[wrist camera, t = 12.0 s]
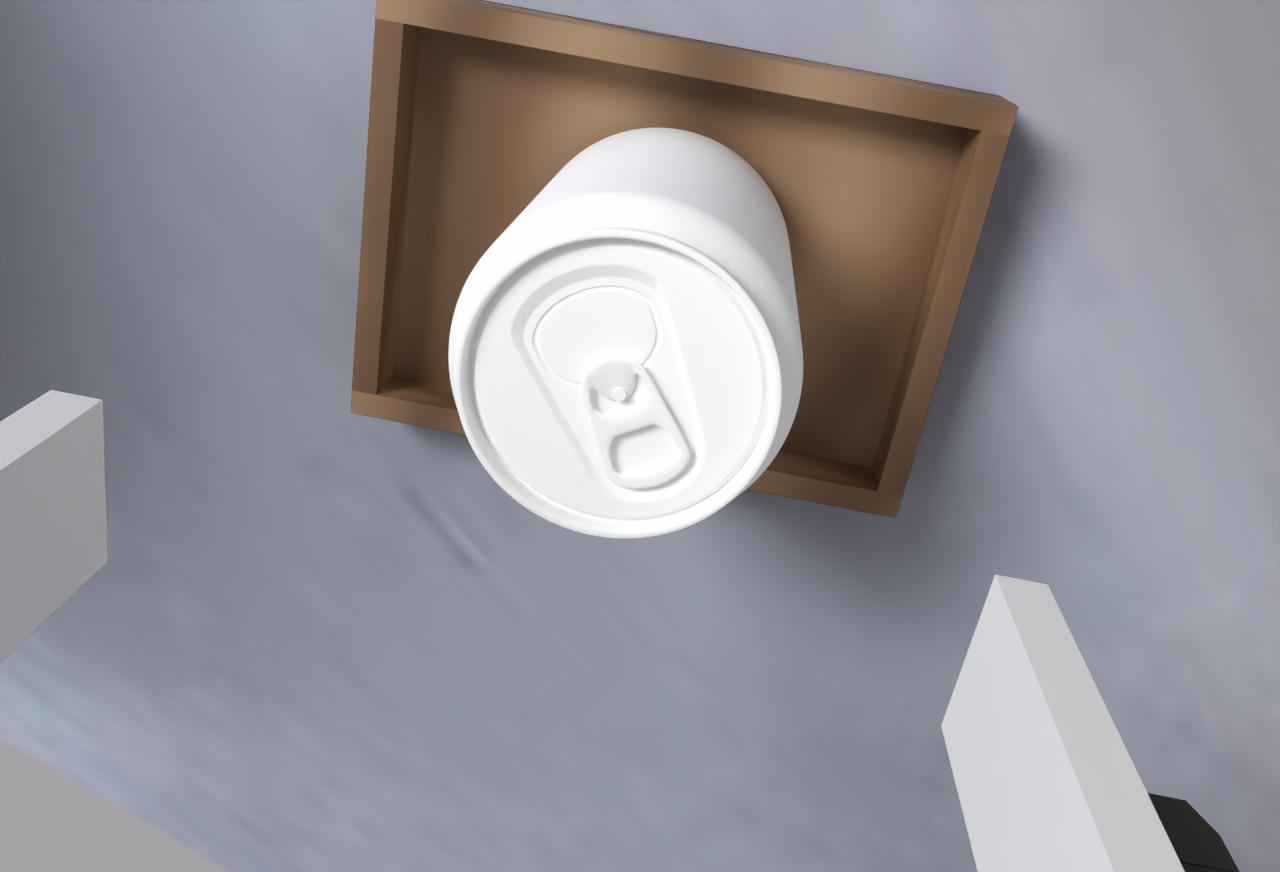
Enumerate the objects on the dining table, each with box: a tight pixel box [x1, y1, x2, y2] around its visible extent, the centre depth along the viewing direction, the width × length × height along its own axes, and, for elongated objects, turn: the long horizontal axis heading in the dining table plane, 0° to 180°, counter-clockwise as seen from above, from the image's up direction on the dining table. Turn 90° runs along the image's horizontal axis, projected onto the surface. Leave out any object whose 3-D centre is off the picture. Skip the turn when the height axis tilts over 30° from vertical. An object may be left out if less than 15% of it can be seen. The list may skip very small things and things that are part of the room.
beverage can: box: [448, 128, 803, 539], centre depth 29 cm, size 8×8×12 cm
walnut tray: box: [351, 0, 1019, 518], centre depth 34 cm, size 18×13×3 cm
